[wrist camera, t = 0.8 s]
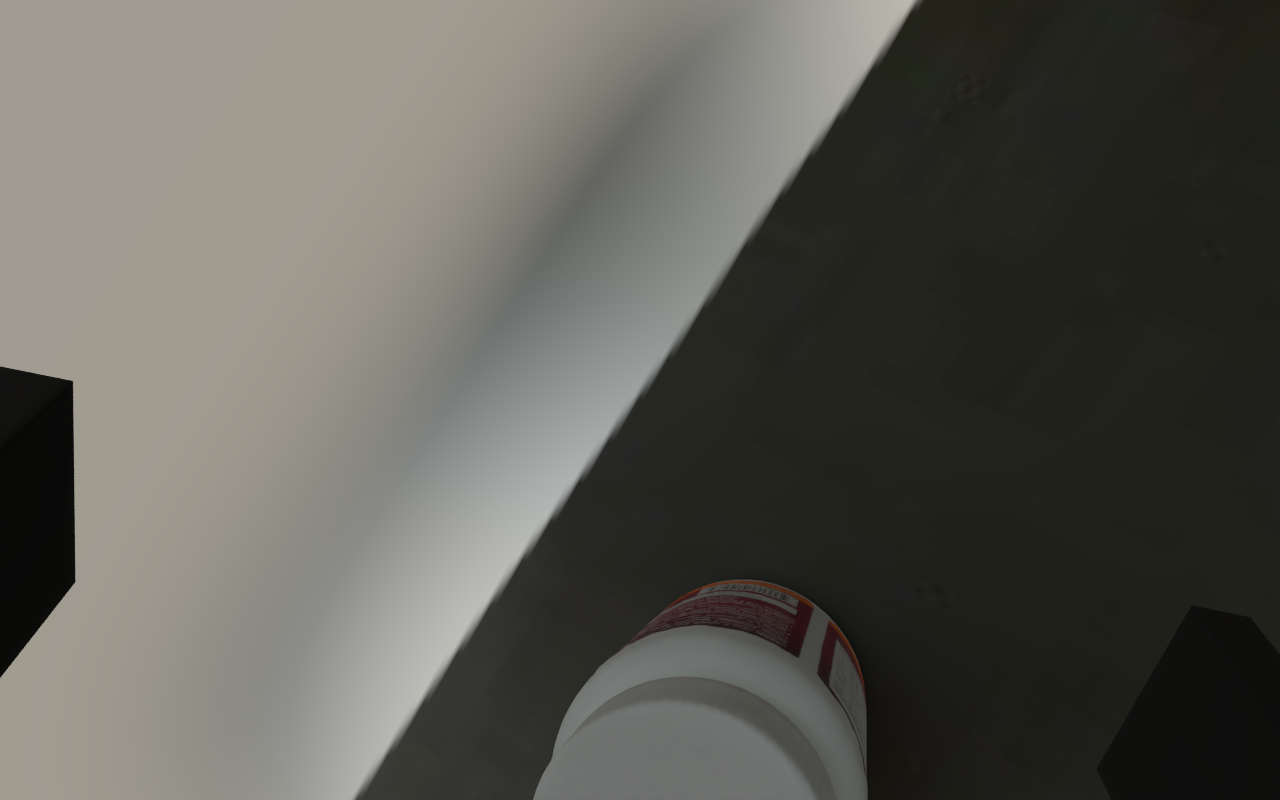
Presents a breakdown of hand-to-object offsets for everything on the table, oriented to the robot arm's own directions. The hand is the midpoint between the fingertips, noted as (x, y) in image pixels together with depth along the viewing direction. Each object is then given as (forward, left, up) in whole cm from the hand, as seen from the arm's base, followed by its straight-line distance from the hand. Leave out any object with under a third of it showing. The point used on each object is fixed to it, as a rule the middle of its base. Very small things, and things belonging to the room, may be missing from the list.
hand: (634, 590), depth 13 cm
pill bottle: (+5, +2, -16) cm, 17 cm away
